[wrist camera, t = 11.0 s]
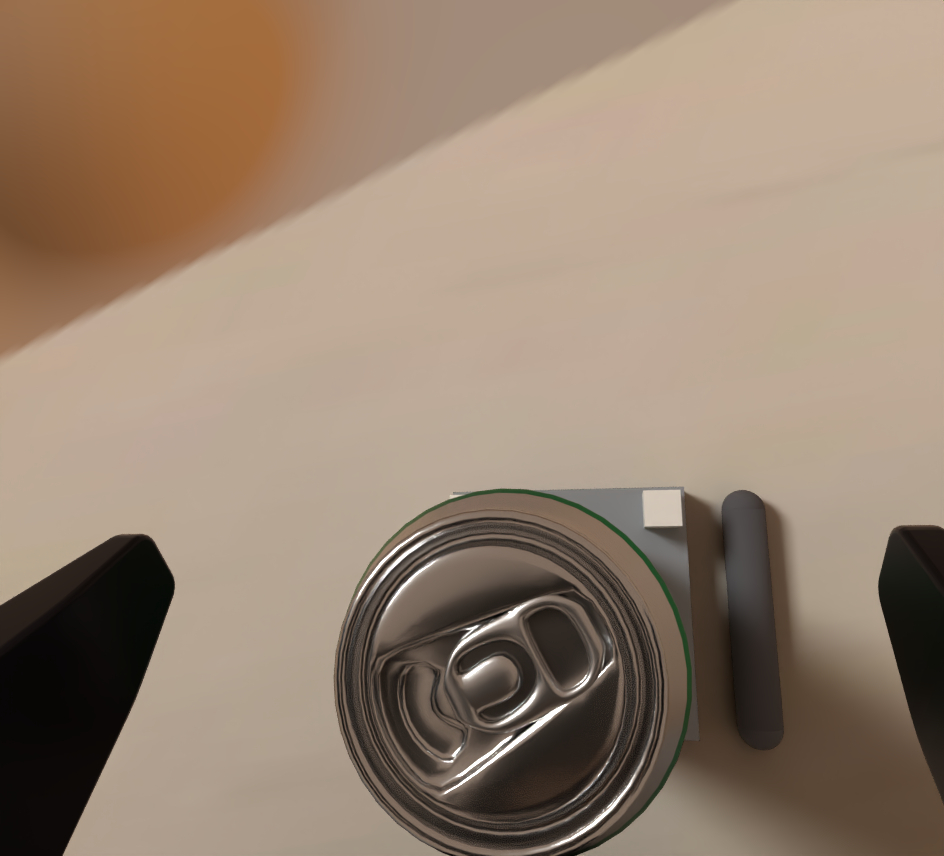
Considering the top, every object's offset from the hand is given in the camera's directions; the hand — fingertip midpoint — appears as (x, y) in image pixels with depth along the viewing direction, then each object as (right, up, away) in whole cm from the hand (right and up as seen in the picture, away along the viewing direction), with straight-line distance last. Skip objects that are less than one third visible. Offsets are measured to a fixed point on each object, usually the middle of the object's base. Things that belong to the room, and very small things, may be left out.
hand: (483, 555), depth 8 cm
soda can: (+3, -4, +12) cm, 13 cm away
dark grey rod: (+8, -4, +12) cm, 15 cm away
